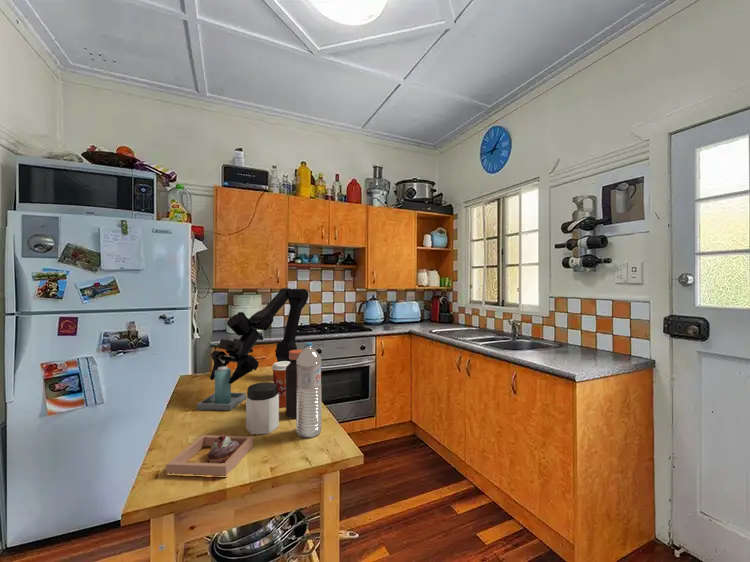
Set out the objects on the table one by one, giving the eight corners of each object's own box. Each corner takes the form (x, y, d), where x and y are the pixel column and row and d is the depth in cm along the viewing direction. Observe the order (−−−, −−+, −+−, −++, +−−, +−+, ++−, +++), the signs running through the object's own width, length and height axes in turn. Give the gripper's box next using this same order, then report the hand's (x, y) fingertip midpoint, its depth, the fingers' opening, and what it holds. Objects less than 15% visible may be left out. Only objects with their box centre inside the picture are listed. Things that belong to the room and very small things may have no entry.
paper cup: (275, 410, 107) (275, 367, 107) (269, 403, 114) (269, 362, 114) (298, 405, 111) (298, 364, 111) (291, 398, 118) (291, 359, 118)
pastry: (211, 450, 83) (211, 430, 83) (243, 446, 85) (243, 427, 85) (203, 468, 75) (203, 446, 75) (239, 463, 77) (239, 442, 77)
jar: (261, 419, 100) (261, 380, 100) (284, 423, 97) (283, 383, 97) (239, 432, 92) (239, 389, 92) (264, 437, 89) (263, 393, 89)
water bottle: (310, 441, 87) (310, 346, 87) (291, 435, 90) (290, 343, 90) (326, 430, 93) (326, 342, 93) (307, 425, 96) (307, 339, 96)
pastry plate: (253, 446, 84) (253, 436, 84) (226, 478, 71) (226, 466, 71) (202, 444, 85) (202, 435, 85) (166, 475, 72) (166, 464, 72)
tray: (246, 398, 118) (246, 392, 118) (230, 410, 107) (230, 404, 107) (215, 397, 119) (215, 392, 119) (197, 410, 108) (197, 404, 108)
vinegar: (285, 411, 106) (285, 349, 106) (306, 409, 108) (306, 348, 108) (286, 420, 100) (286, 354, 100) (309, 417, 102) (309, 352, 102)
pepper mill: (231, 398, 116) (230, 364, 116) (230, 403, 112) (230, 368, 112) (215, 401, 114) (215, 366, 114) (214, 406, 110) (214, 369, 110)
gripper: (215, 328, 121) (186, 365, 111) (252, 331, 112) (224, 372, 103) (233, 345, 128) (207, 382, 118) (269, 350, 120) (244, 390, 110)
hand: (220, 381), depth 112 cm, fingers open, 9 cm apart
